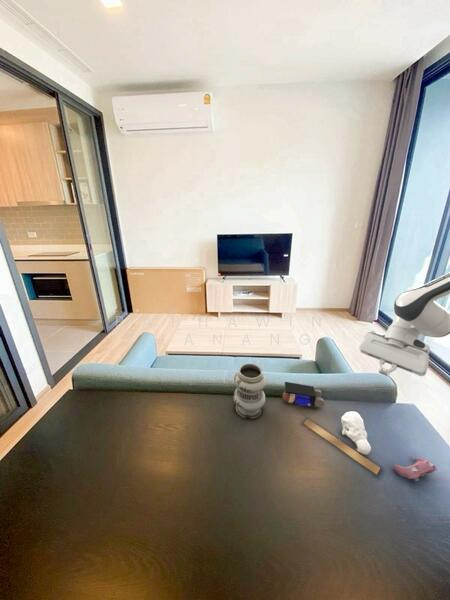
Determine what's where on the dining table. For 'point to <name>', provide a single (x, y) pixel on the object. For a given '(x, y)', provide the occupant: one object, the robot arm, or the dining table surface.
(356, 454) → the brass ruler
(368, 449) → the white sculpture
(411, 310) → the robot arm
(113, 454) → the dining table surface
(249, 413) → the apothecary jar
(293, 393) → the dark block with discs
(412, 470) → the pink animal figurine
